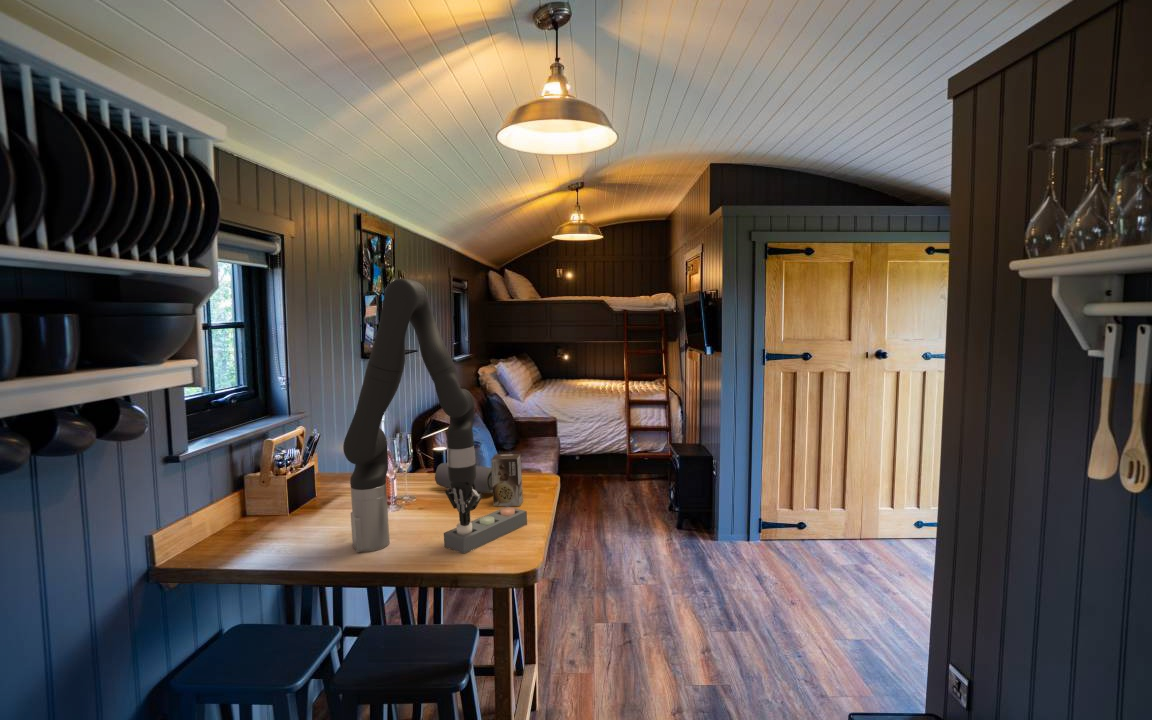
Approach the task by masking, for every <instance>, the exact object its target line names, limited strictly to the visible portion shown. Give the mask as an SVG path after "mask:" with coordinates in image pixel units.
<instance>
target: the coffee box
mask: <svg viewBox="0 0 1152 720" xmlns="http://www.w3.org/2000/svg"><path fill="white" fill-rule="evenodd" d="M490 468H491V469H492V486H493V493H492V499H493V500H492V502H493V503H492V504H493V505H492V506H493V507H507V506H508V507H520V506H521V505H522V503H523V501H524V496H523V495H524V494H523V493H524V492H523V491H524V490H523V476H522V475H523V472H522V470H523V469H522V454H521V453H500V454H496V453H495V454H494V455H493V456H492V458H491V459H490Z"/></svg>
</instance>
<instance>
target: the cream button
mask: <svg viewBox="0 0 1152 720" xmlns="http://www.w3.org/2000/svg"><path fill="white" fill-rule="evenodd" d="M456 528H457V534H459V535H462V536H466V535H468V534H470V533H472V523H471V521H470V524H469V525H466V526H463V525H460V522H459V523H457V524H456Z"/></svg>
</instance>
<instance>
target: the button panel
mask: <svg viewBox="0 0 1152 720" xmlns="http://www.w3.org/2000/svg"><path fill="white" fill-rule="evenodd" d="M503 508H514V509H515V514H513V515H511V516H509V517H507V516H503V515H501V509H503ZM486 516H491V517H494V521H495V523H493V524H491V525H488V526H485V525H481V524H480V518H482V517H486ZM470 522H471V523H472V533H470V534H468V535H466V536H462V535H459V534H457V527H454V528H452V529H450V530H447V531H446V532H443V545H444V548H445V547H447V548H446V549H448V548H450V549H449V550H451V549H452V551H454V550H455V552H457V551H458V553H460V552H461V553H460V554H463V553H465V554H467V553H469V552H472V551H474V550H475V549H478V548H480V547H482V546H485V545H486V544H489V543H490V542H492V541H495V540H496V539H499V538H501V537H503V536H505V535H507V534H509V533H512V532H513V531H514V532H515V530H518V529H520V528H522V527H524V526H527V525H528V513H527V510H523V509H520V508H516V507H513V506H503V507H502V508H499V509H497V510H495V511H492V512H490V513H488V514H486V515H483V516H481V517H479V518H475V519H474V520H472V521H471V520H470ZM473 549H474V550H473ZM471 550H472V551H471Z"/></svg>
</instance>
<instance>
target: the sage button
mask: <svg viewBox="0 0 1152 720" xmlns="http://www.w3.org/2000/svg"><path fill="white" fill-rule="evenodd" d="M481 517H482V518H481ZM481 517H479V518H480V524H481V525H485V526H488V525H491V524H493V523H495V521H494V517H491V516H486V517H483V516H481Z"/></svg>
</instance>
